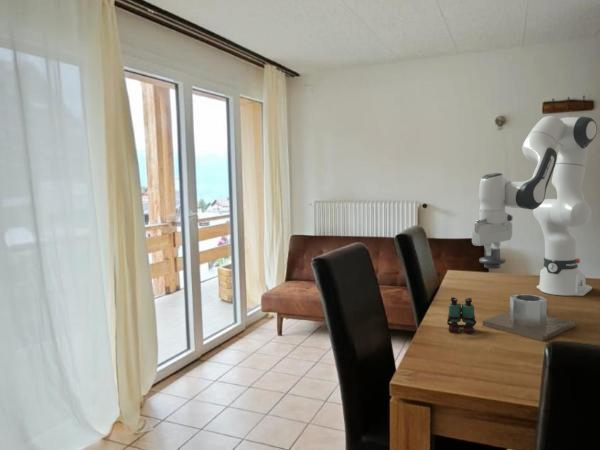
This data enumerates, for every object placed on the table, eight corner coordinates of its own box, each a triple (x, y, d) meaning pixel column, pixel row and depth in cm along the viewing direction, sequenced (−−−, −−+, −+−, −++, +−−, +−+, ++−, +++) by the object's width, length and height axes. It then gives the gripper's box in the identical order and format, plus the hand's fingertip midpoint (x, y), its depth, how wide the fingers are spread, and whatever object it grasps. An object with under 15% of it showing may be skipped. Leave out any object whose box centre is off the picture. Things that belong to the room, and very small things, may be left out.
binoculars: (446, 306, 141) (447, 295, 151) (447, 337, 143) (447, 324, 153) (477, 307, 138) (475, 296, 148) (477, 339, 140) (475, 325, 150)
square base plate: (515, 313, 162) (515, 287, 161) (574, 326, 145) (575, 298, 144) (482, 325, 151) (482, 297, 150) (542, 341, 134) (542, 310, 133)
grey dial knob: (488, 263, 172) (488, 245, 171) (510, 266, 165) (510, 248, 164) (474, 267, 167) (474, 248, 166) (496, 270, 160) (496, 251, 159)
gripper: (482, 220, 156) (483, 259, 157) (515, 215, 167) (515, 252, 168) (467, 220, 161) (467, 257, 162) (499, 215, 172) (500, 250, 173)
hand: (492, 254), depth 165 cm, fingers closed on grey dial knob, 2 cm apart
